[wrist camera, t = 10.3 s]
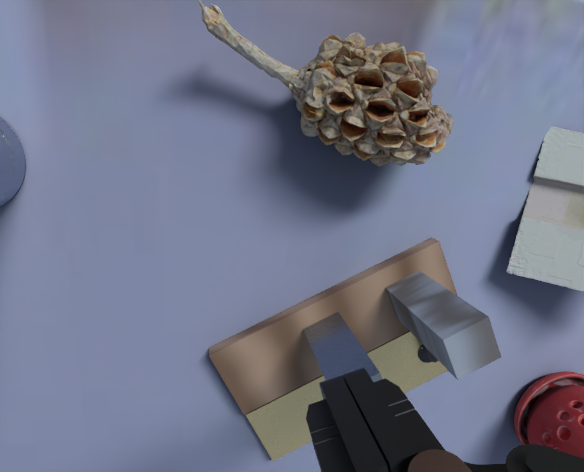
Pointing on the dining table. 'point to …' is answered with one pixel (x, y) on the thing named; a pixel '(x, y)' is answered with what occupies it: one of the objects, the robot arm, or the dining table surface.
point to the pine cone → (357, 95)
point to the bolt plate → (294, 405)
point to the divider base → (361, 327)
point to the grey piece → (554, 215)
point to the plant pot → (553, 413)
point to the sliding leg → (338, 348)
